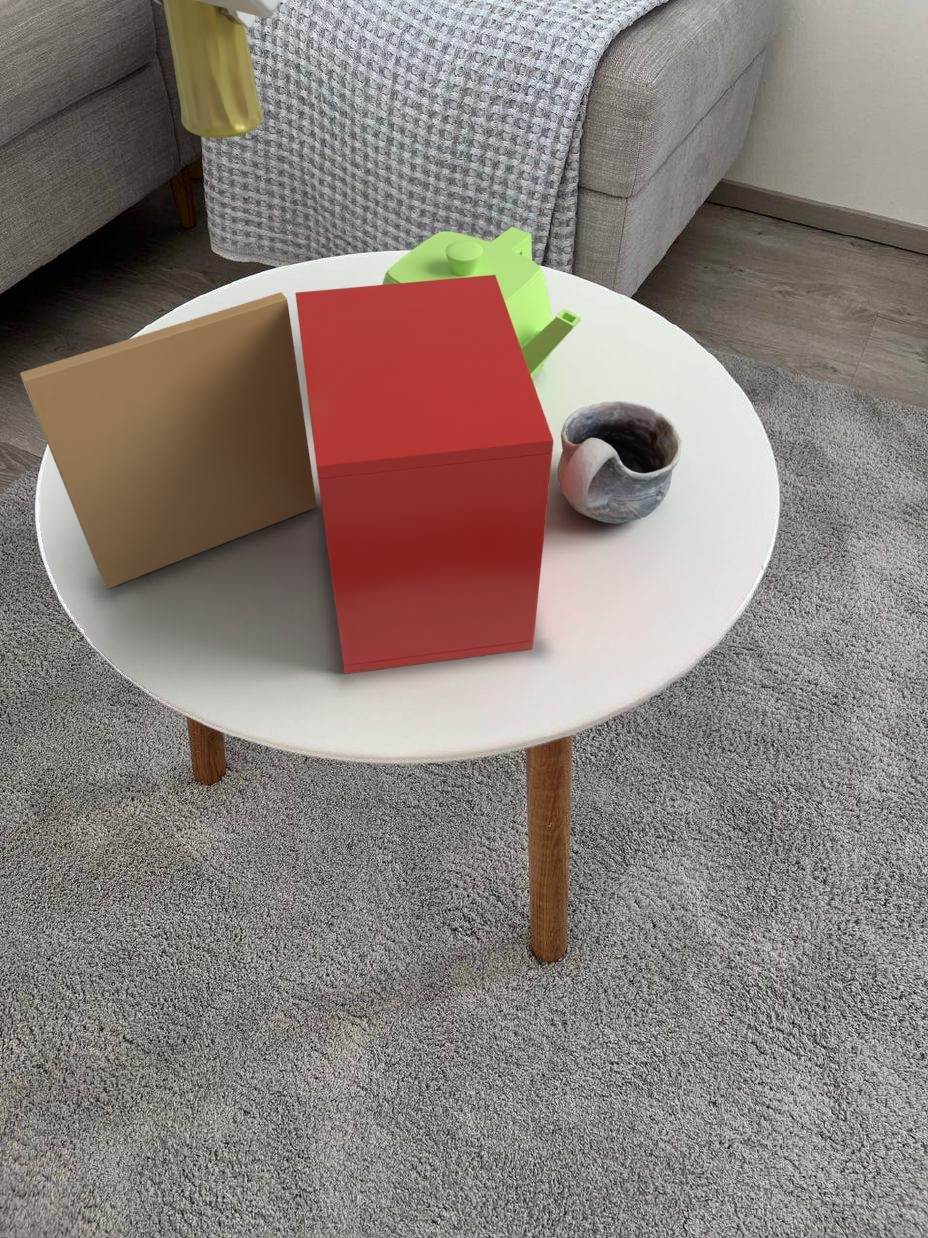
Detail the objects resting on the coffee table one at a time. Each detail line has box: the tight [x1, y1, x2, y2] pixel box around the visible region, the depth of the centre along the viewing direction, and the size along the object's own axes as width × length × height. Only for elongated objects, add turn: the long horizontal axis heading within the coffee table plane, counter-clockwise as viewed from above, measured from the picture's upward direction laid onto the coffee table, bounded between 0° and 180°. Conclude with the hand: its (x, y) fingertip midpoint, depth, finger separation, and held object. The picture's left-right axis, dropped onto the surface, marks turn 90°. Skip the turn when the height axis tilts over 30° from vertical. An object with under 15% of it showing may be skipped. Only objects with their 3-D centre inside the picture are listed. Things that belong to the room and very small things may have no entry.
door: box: [19, 291, 317, 590], centre depth 76 cm, size 6×18×20 cm, turn 121°
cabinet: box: [295, 275, 554, 674], centre depth 73 cm, size 14×18×20 cm
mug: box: [557, 400, 682, 525], centre depth 81 cm, size 10×12×10 cm
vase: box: [163, 0, 264, 139], centre depth 72 cm, size 6×6×14 cm
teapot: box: [381, 226, 582, 381], centre depth 91 cm, size 18×20×13 cm
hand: (208, 5), depth 72 cm, fingers closed on vase, 5 cm apart
